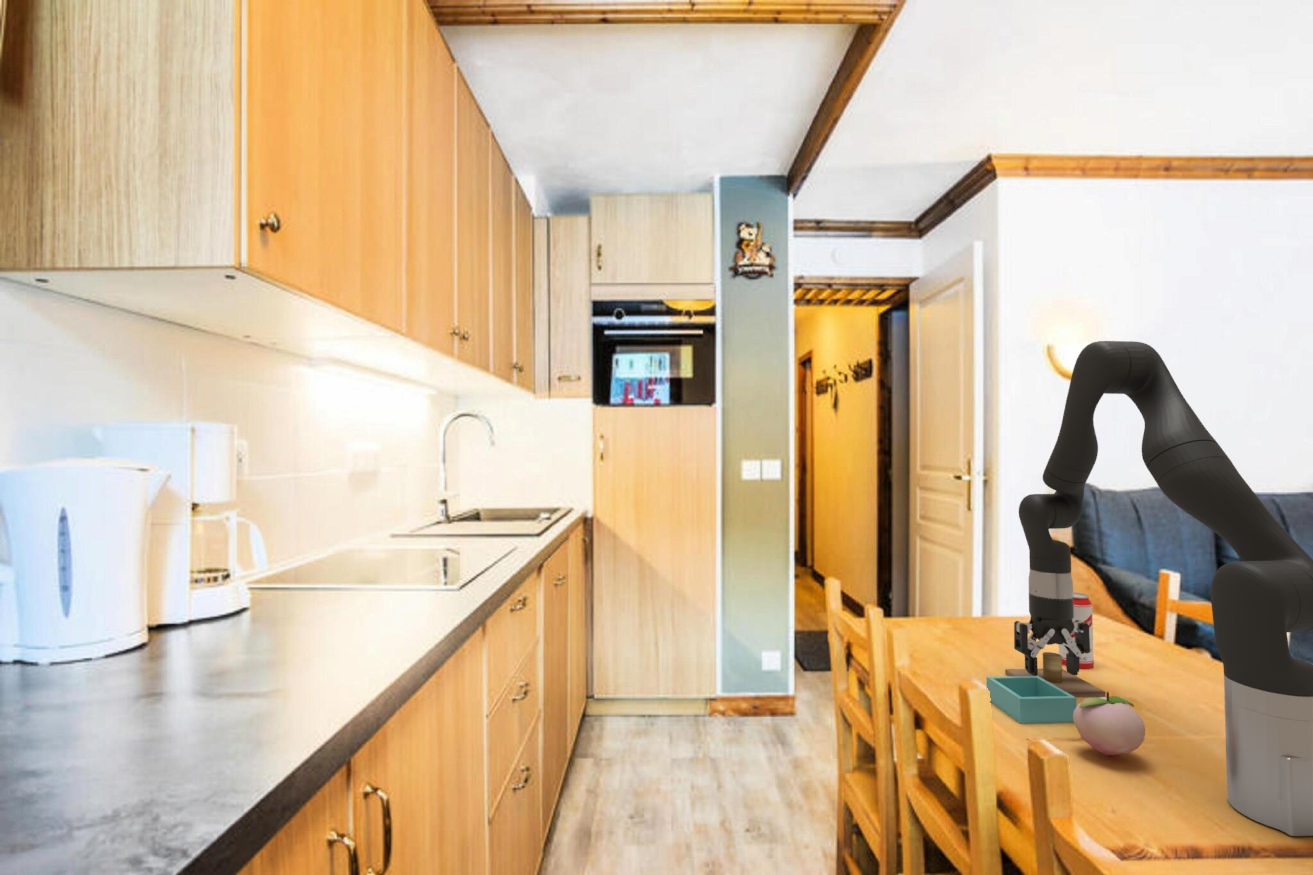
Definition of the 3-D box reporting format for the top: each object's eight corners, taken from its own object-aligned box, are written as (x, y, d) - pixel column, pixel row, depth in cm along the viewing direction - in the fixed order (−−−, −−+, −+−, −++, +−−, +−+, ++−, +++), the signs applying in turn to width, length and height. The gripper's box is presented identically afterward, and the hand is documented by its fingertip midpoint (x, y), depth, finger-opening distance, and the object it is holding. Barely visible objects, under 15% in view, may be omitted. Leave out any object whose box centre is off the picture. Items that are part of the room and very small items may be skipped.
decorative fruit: (1116, 775, 87) (1114, 707, 88) (1063, 748, 95) (1062, 686, 95) (1161, 765, 90) (1160, 699, 90) (1107, 740, 98) (1105, 679, 98)
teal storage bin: (1077, 726, 103) (1076, 697, 103) (1020, 727, 102) (1019, 698, 103) (1038, 702, 113) (1038, 675, 113) (987, 703, 112) (986, 676, 113)
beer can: (1099, 673, 126) (1098, 598, 127) (1067, 671, 128) (1065, 597, 128) (1085, 663, 133) (1083, 591, 133) (1053, 661, 134) (1052, 590, 134)
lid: (1105, 696, 113) (1104, 665, 113) (1043, 697, 113) (1042, 666, 113) (1061, 673, 125) (1060, 644, 125) (1005, 674, 125) (1004, 645, 125)
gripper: (1027, 597, 115) (1029, 682, 115) (1099, 596, 116) (1101, 680, 115) (1004, 588, 123) (1005, 667, 123) (1071, 587, 123) (1073, 666, 123)
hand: (1052, 673), depth 119 cm, fingers open, 7 cm apart
